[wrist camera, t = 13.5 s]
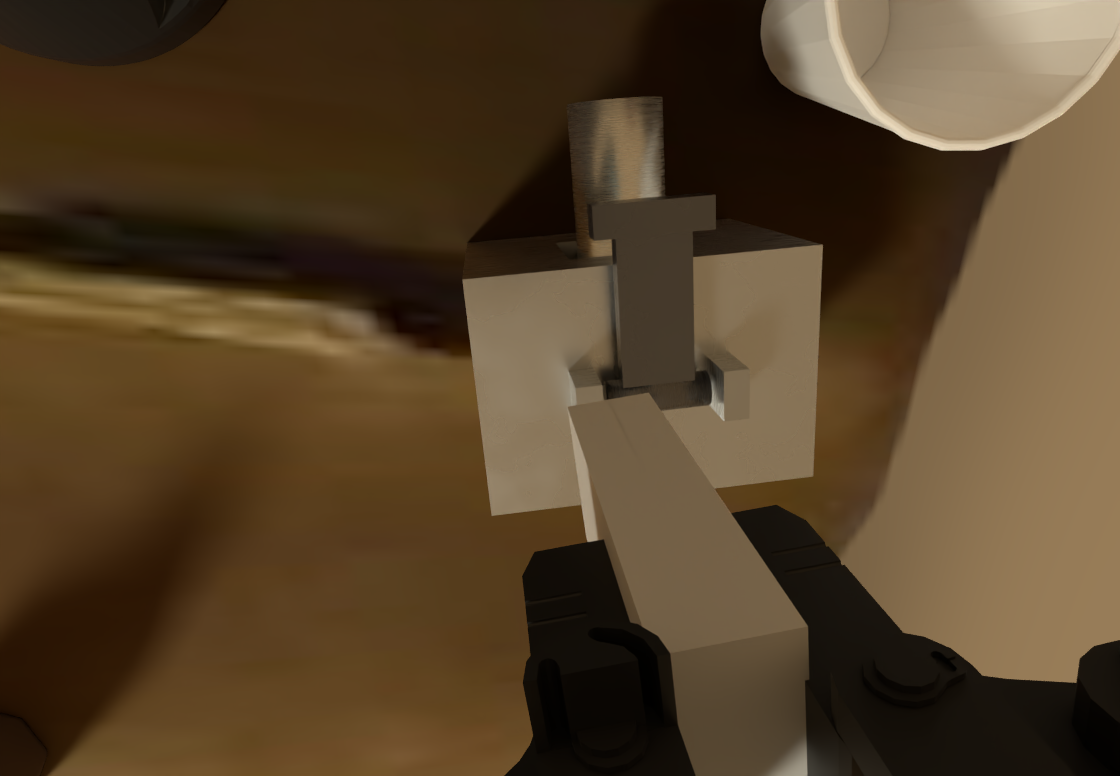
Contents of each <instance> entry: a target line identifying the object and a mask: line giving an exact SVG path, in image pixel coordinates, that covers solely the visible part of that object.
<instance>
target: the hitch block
mask: <svg viewBox="0 0 1120 776" xmlns="http://www.w3.org/2000/svg"><path fill="white" fill-rule="evenodd" d="M822 253H823V245H822V244H819V243H815V242H812V241H808V240H804V239H801V238H797V237H794V236H790V235H787V234H783V233H779V232H776V231H772V230H769V229H765V228H762V227H758V226H754V225H751V224H747V223H744V222H740V221H736V220H733V219H729V218H728V219H718V220H716V229H715V230H704V231H693V283H694V354H695V371H702V370H706V371H707V372H708V374H709V377H710V380H711V385H712V401H711V404H710V405H709V406H700V407H691V408H682V409H673V410H665V411H662V413H663V414H664V416H665V417H666V419H667V420H668V422H669V423H670V425H671V426H672V428H673V429H674V430H675V432H676V433H677V435H678V436H679V438H680V439H681V441H682V442H683V444H684V445H685V447H686V448H687V450H688V451H689V453H690V454H691V455H692V457H693V458H694V460H695V461H696V463H697V464H698V466H699V467H700V469H701V470H702V472H703V473H704V475H705V476H706V477H707V479H708V480H709V482H710V483H711V485H712V486H713V488H721V487H730V486H738V485H746V484H754V483H762V482H770V481H778V480H787V479H795V478H803V477H811V476H813V465H814V442H815V418H816V395H817V371H818V347H819V324H820V300H821V276H822ZM463 288H464V296H465V304H466V312H467V320H468V328H469V336H470V344H471V352H472V360H473V368H474V376H475V384H476V392H477V400H478V408H479V416H480V425H481V433H482V441H483V449H484V457H485V465H486V473H487V481H488V489H489V497H490V505H491V513H492V516H493V515H501V514H509V513H518V512H526V511H534V510H542V509H550V508H558V507H567V506H575V505H582V504H581V497H580V490H579V483H578V476H577V470H576V463H575V456H574V449H573V442H572V436H571V429H570V422H569V415H568V408H567V407H568V406H574V405H580V404H586V403H591V402H597V401H603V400H604V394H603V384H604V381H610V380H619V375H618V356H617V337H616V318H615V299H614V280H613V261H612V256H601V257H591V258H581V259H578V257H577V242H576V233H567V234H556V235H546V236H535V237H524V238H513V239H503V240H492V241H481V242H470V243H467V248H466V256H465V264H464V272H463Z"/></svg>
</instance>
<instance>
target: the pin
mask: <svg viewBox="0 0 1120 776" xmlns="http://www.w3.org/2000/svg"><path fill="white" fill-rule="evenodd" d="M567 114H568V128H569V142H570V157H571V171H572V185H573V199H574V214H575V228H576V242H577V257H578V259H581V258H591V257H601V256H612V242H611V239H609V240H598V241H594V240H592V239H591V238H590V237H589V229H588V213H587V203H593V202H604V201H615V200H626V199H637V198H649V197H660V196H665V170H664V135H663V101H662V96H646V97H630V98H617V99H606V100H596V101H587V102H580V103H573V104H568V105H567Z"/></svg>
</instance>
